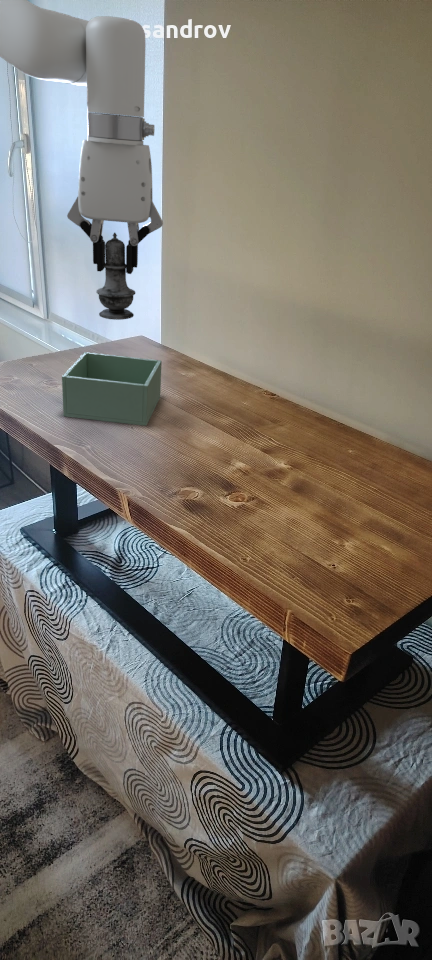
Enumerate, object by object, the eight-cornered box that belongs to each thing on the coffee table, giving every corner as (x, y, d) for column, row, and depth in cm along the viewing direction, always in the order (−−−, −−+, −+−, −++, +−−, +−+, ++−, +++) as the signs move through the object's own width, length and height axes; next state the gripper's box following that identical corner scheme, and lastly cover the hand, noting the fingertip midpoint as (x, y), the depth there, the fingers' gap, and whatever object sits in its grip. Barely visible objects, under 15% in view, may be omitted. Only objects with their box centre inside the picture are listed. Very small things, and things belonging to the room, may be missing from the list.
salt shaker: (133, 321, 94) (133, 236, 88) (94, 319, 94) (91, 234, 88) (137, 311, 99) (137, 230, 93) (100, 309, 99) (97, 228, 93)
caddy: (63, 416, 98) (61, 376, 95) (85, 388, 109) (84, 351, 105) (146, 425, 97) (147, 386, 94) (160, 397, 108) (161, 360, 105)
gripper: (178, 136, 88) (172, 270, 97) (60, 125, 87) (65, 261, 96) (175, 137, 81) (169, 281, 90) (47, 125, 81) (53, 271, 90)
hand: (115, 269), depth 93 cm, fingers closed on salt shaker, 3 cm apart
